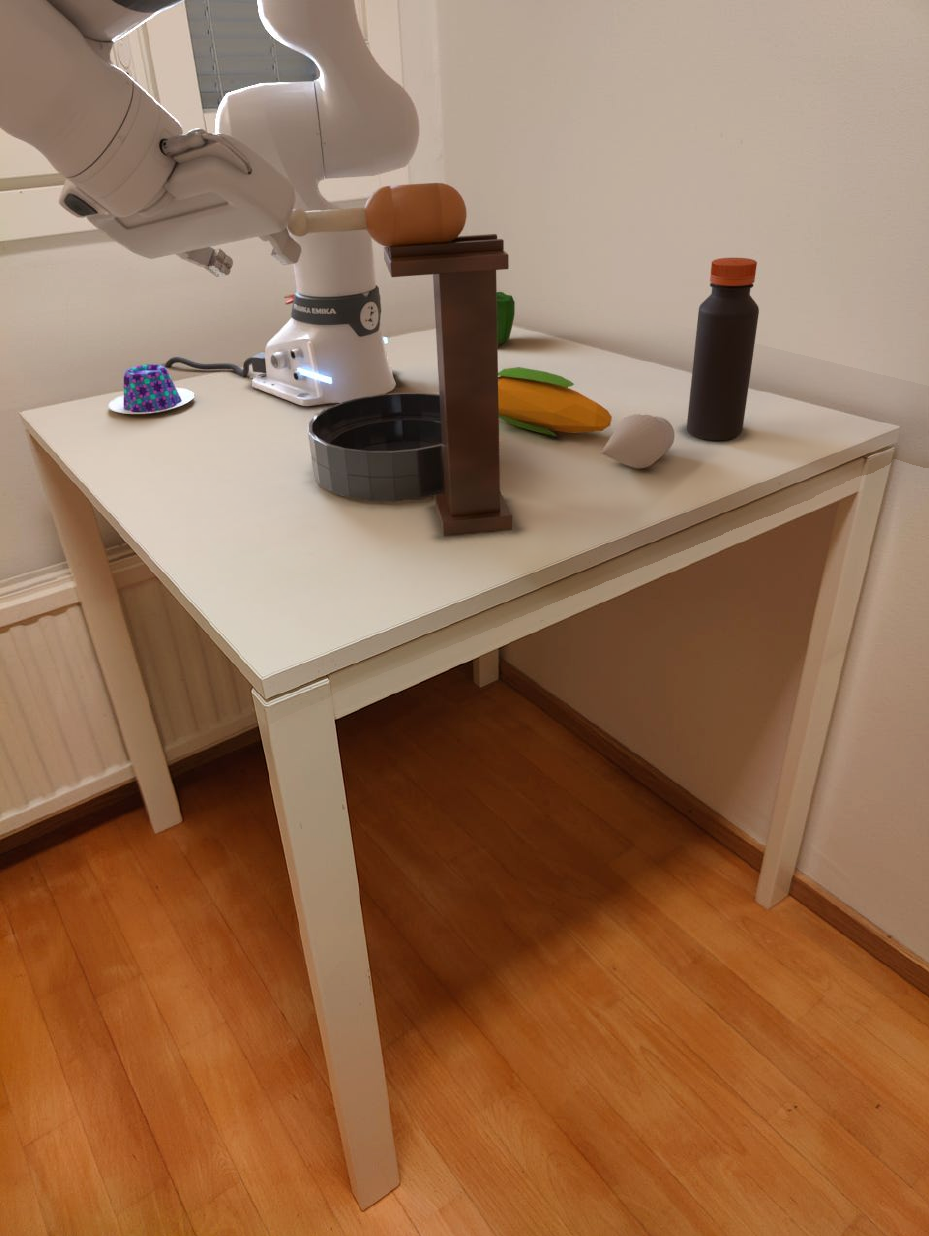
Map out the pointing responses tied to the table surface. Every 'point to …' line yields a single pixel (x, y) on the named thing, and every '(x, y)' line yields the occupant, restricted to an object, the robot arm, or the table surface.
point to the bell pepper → (504, 316)
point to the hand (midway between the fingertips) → (259, 263)
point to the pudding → (149, 391)
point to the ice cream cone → (640, 440)
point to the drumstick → (394, 216)
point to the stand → (465, 374)
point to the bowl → (380, 447)
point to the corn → (547, 403)
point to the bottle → (723, 352)
